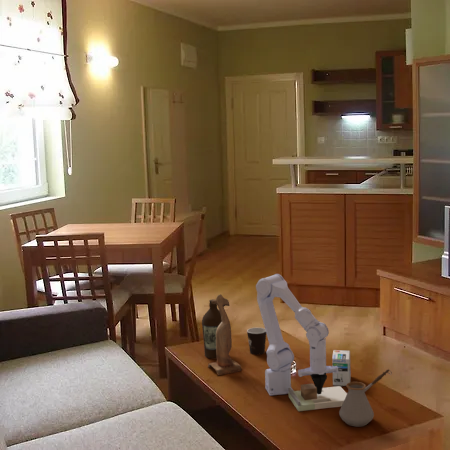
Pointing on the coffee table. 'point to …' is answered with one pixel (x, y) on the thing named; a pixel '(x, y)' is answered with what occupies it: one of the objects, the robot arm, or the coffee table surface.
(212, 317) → the olive oil
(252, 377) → the coffee table surface
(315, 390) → the walnut block
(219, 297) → the bird sculpture
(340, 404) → the trap deck
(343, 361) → the light bulb box
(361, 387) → the coffee pot
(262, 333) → the coffee mug
